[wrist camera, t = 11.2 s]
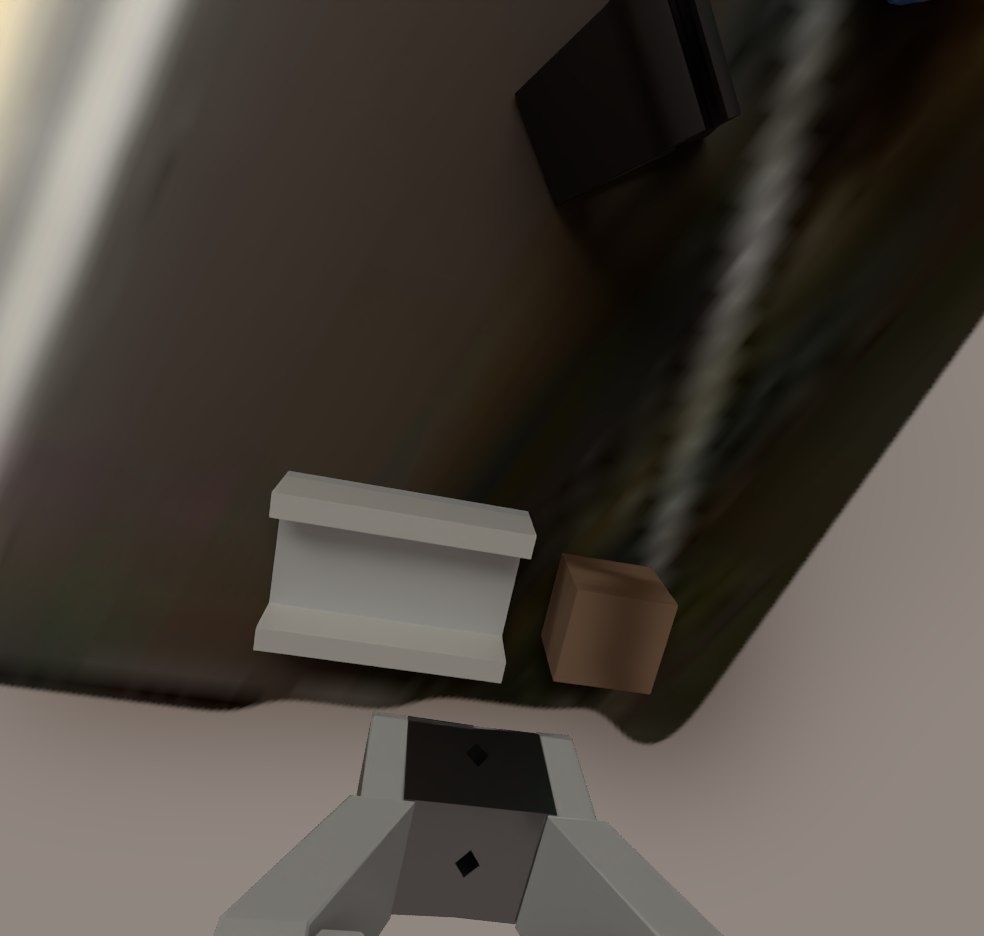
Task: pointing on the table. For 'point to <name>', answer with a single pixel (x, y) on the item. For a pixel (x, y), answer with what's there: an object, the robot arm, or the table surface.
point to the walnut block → (607, 624)
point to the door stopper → (627, 92)
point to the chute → (391, 577)
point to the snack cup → (904, 1)
